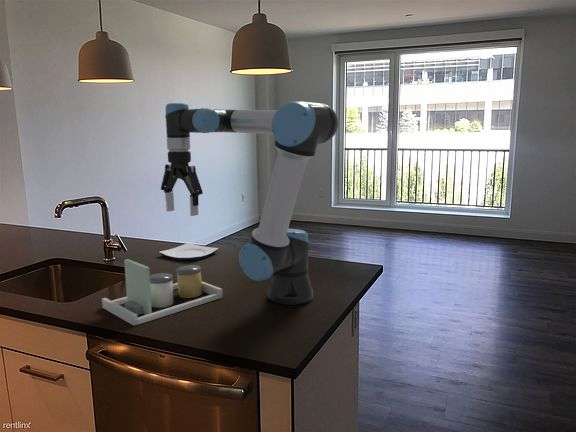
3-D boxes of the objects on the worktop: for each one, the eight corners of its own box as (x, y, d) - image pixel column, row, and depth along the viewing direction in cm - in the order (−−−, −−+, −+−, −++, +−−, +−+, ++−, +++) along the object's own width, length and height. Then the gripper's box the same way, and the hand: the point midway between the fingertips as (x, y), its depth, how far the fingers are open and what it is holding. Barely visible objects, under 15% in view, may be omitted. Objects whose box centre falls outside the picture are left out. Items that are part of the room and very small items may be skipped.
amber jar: (206, 289, 166) (203, 264, 165) (198, 298, 158) (196, 271, 157) (183, 290, 167) (180, 265, 166) (175, 298, 159) (172, 272, 158)
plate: (191, 264, 199) (190, 258, 198) (155, 257, 209) (155, 251, 209) (222, 253, 216) (222, 247, 215) (188, 247, 226) (188, 242, 226)
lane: (222, 297, 160) (222, 288, 160) (134, 325, 138) (133, 315, 137) (188, 283, 174) (187, 275, 173) (102, 307, 151) (101, 298, 151)
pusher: (151, 314, 145) (149, 267, 143) (141, 318, 143) (138, 269, 140) (130, 304, 154) (127, 258, 151) (120, 307, 152) (117, 261, 149)
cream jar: (157, 309, 150) (155, 282, 148) (144, 303, 155) (143, 276, 153) (178, 303, 155) (177, 276, 153) (165, 297, 160) (164, 271, 159)
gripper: (211, 151, 155) (214, 215, 159) (166, 149, 172) (169, 207, 175) (193, 152, 150) (196, 219, 154) (148, 150, 166) (152, 210, 170)
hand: (182, 213), depth 165 cm, fingers open, 13 cm apart
